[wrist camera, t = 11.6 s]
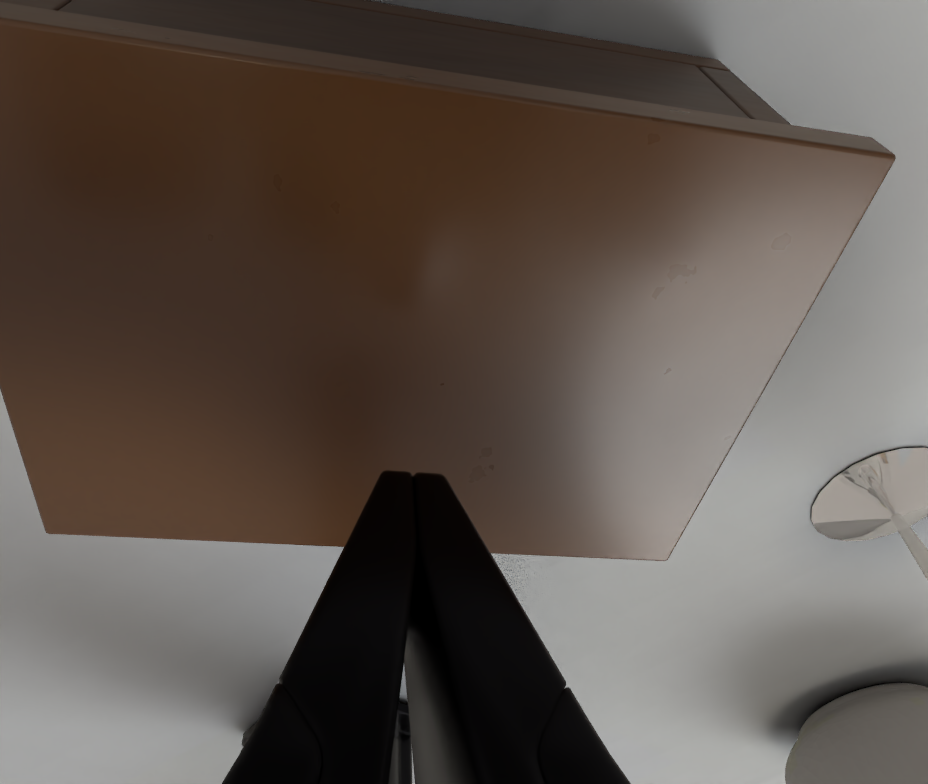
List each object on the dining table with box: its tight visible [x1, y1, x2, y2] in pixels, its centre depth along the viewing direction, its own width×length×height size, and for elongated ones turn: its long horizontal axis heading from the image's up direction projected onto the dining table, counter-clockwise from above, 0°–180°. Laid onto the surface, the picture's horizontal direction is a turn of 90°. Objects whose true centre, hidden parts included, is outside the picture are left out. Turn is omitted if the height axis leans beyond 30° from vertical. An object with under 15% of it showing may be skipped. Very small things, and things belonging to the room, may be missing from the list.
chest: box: [0, 0, 791, 125], centre depth 15 cm, size 9×13×6 cm
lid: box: [0, 2, 896, 561], centre depth 12 cm, size 9×13×1 cm
